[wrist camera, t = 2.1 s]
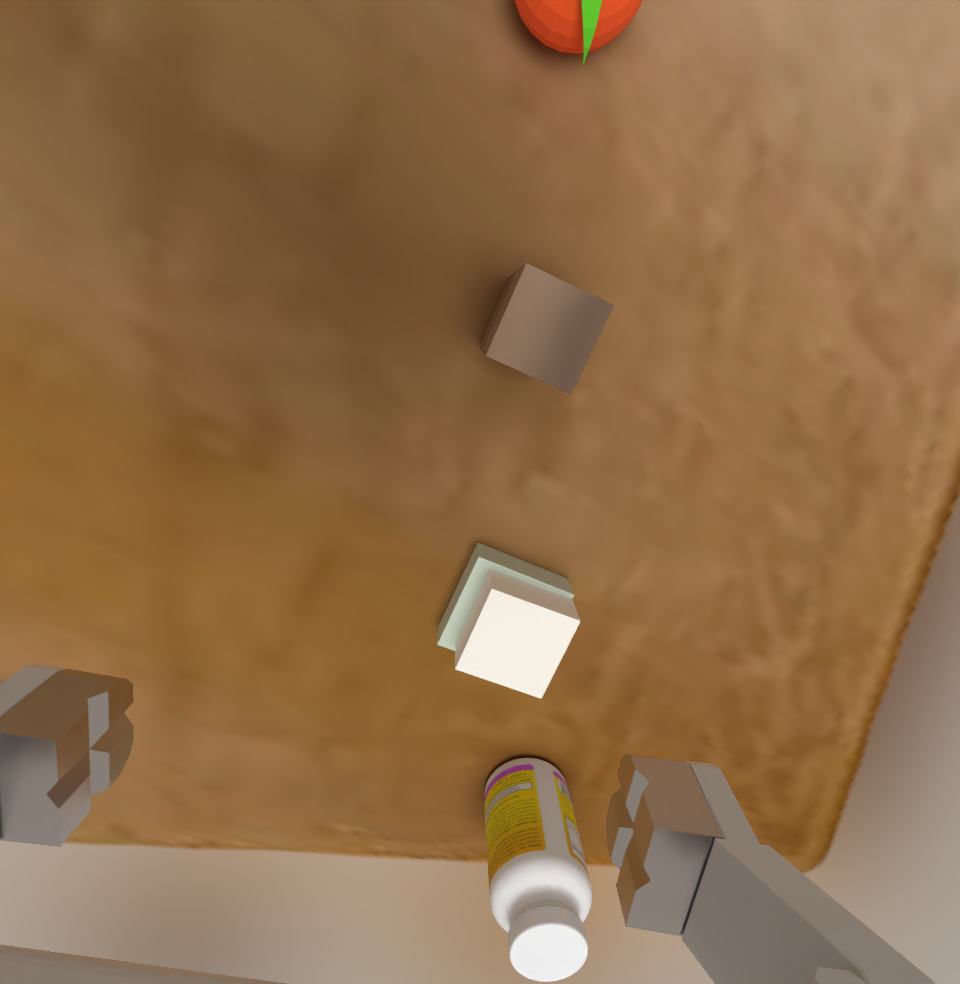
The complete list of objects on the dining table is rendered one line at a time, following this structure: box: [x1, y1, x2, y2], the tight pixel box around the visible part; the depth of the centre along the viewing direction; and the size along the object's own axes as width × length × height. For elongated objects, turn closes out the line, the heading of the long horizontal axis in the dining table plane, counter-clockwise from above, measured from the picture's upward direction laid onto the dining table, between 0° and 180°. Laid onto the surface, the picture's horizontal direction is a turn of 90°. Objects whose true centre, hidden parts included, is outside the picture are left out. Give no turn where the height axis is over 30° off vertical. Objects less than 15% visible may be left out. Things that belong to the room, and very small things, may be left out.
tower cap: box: [455, 569, 580, 698], centre depth 39 cm, size 6×6×3 cm
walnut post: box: [480, 263, 614, 394], centre depth 33 cm, size 4×4×10 cm
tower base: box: [437, 543, 574, 651], centre depth 42 cm, size 7×7×3 cm
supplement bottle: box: [484, 758, 592, 982], centre depth 41 cm, size 7×7×13 cm
